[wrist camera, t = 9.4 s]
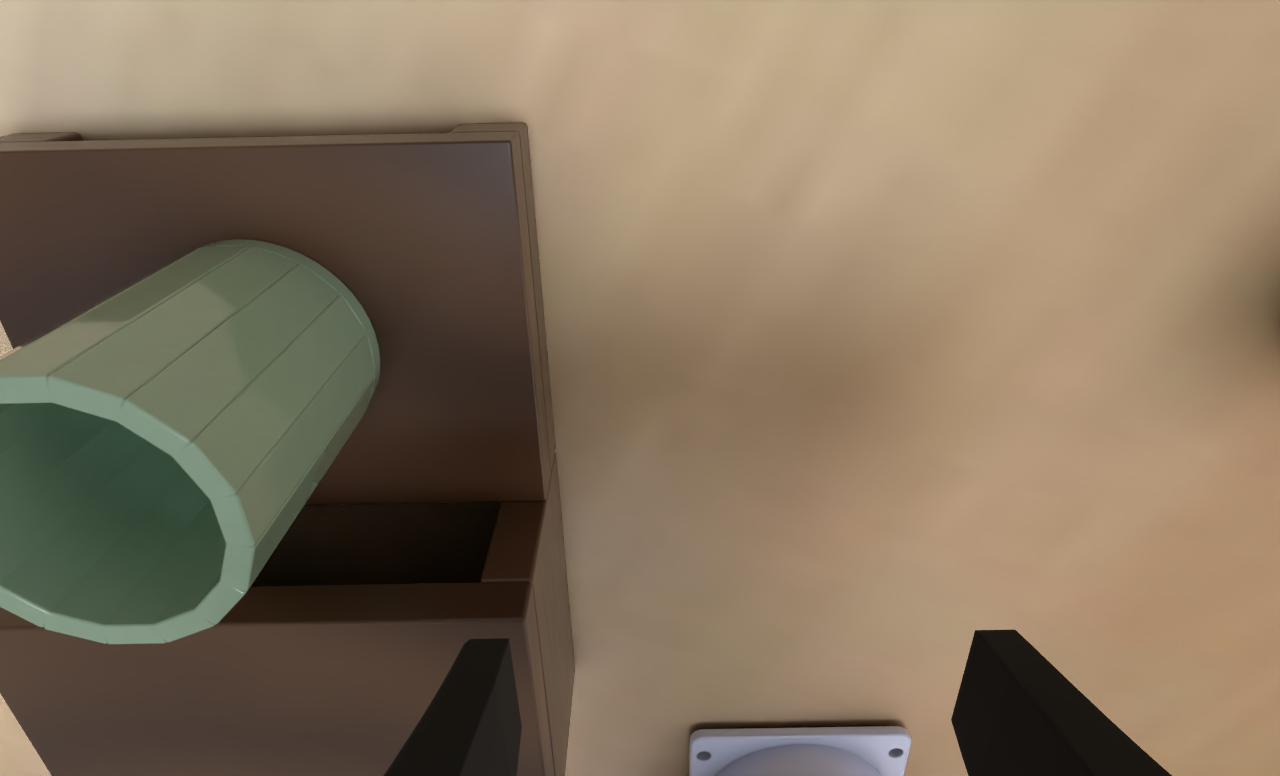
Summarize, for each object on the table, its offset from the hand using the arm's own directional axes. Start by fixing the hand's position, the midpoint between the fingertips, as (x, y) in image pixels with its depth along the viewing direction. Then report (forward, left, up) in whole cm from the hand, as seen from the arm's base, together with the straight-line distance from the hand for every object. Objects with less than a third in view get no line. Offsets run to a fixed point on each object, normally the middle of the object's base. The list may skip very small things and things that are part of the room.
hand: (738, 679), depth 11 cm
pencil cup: (+3, +10, -7) cm, 13 cm away
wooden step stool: (-2, +10, -10) cm, 14 cm away
